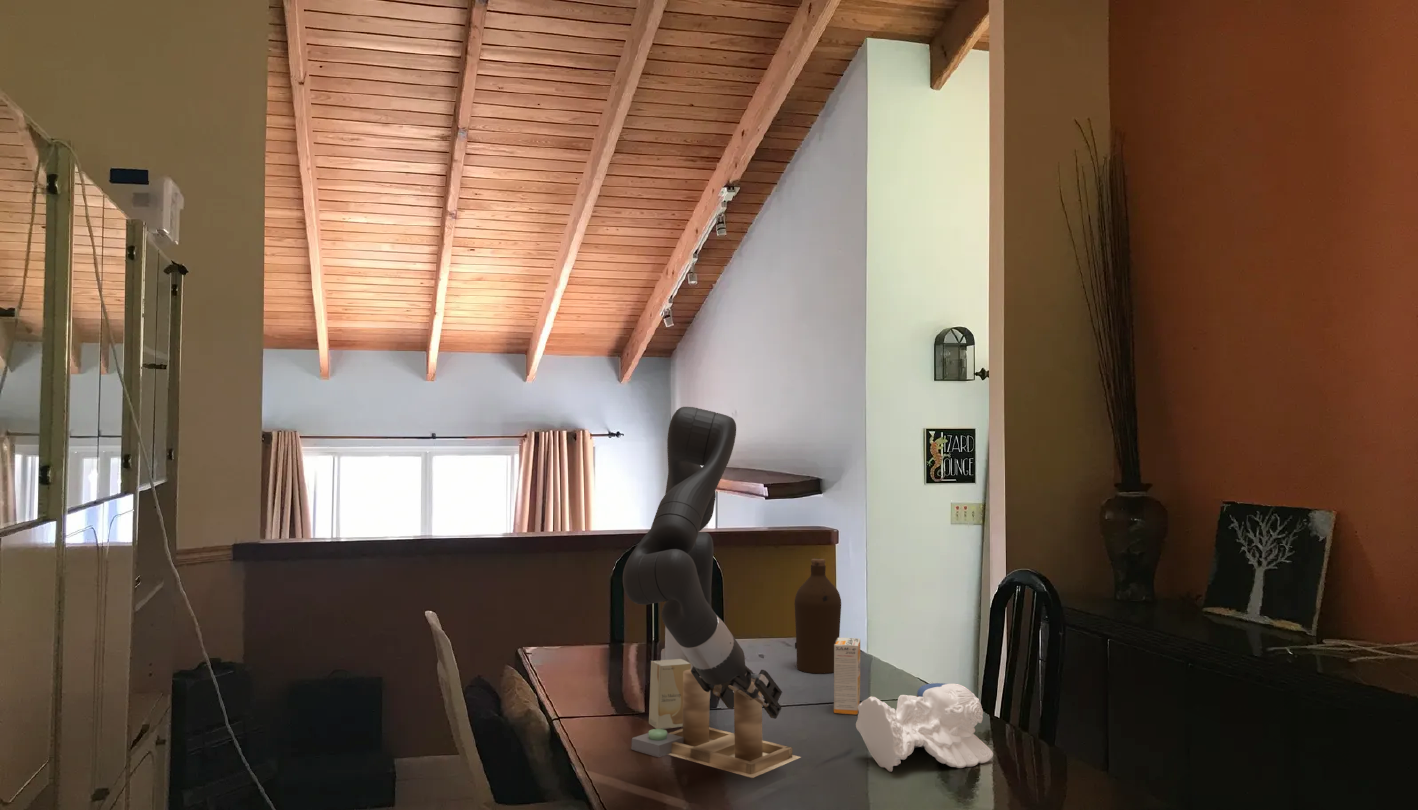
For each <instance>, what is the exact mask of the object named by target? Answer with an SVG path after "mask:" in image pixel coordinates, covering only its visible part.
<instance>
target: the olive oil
mask: <svg viewBox="0 0 1418 810" xmlns="http://www.w3.org/2000/svg"><path fill="white" fill-rule="evenodd" d="M810 562H811V564H810V576H809V577H808V578H807V579H806V580H805V581H804V583H803V584H801V586H799V588H798V589H797V591H796V595H795V597H794V619H795V620H794V621H795V643H794V648H795V649H794V650H796V669H797V670H799V671H800V672H804V673H808V674H821V675H822V674H823V675H824V674H832V673H833V674H834V645H835V642H836V640H837V638H840V633H841V631H840V630H841V629H840V628H841V617H842V616H841V614H842V613H841V612H842V599H841V595H840V592H839V590H838V589H837V588H836V586H835V585H834V584H833V583H832V582H831V581H830V580H829V579H828V577H827V575H826V566H827V565H826V559H825V558H811V561H810Z"/></svg>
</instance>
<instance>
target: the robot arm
mask: <svg viewBox="0 0 1418 810" xmlns="http://www.w3.org/2000/svg"><path fill="white" fill-rule="evenodd" d="M736 437H737V424H736V421H735V419H734V418H733V417H731V416H729V415H728V414H727V415H726V414H723V413H719V412H715V411H711V410H709V409H708V410H707V409H703V408H698V407H695V406H681V407H679V408H678V409H677V410H676V411H675V412H674V414H673V415H672V418H671V420H670V422H669V426H668V431H667V440H666V441H667V442H666V443H667V445H666V446H667V450H666V451H667V479H666V480H667V481H666V486H665V495H664V496H663V498H662V499H661V500H660V502H659V505H658V507H657V510H656V512H655V516H654V518H653V522H652V524H651V527H650V529H649V531H647V533H646V534H645V535H644V536H643V538H641V540H640V541H639V542H638V544H637V545H636V546H635V548H634V549H633V551H632V552H631V553H630V555H629V557H628V558H627V560H626V563H625V565H624V568H623V572H622V587H623V590H624V593H625V595H626V596H627V598H628V599H629V601H631V602H633V603H634V604H636V605H653V604H657V603H663V602H664V604H663V606H662V608H661V619H662V623H663V625H664V626H665V628H664V633H665V634H664V635H665V636H664V641H665V642H664V648H662V649H661V652H660V660H673V659H683V660H685V661H687V662H689V663H691V673H692V674H693V676H694V677H695V679H696V680H697V682H698V683H699V684H700V686H701V687H702V689H703V690H704V691H706V692H709V691H710V692H711V691H712V694H713V695H714V696H716V697H718V698H719V699H721V701H722V703H723V704H724V705H725V706H726V708H727V709H729V710H734V691H735V692H739V693H740V694H742V695H743V696H745V697H746V698H748V699H749V700H753V699H754V700H756V701H757V702H759V703H760V704H762V708H763V709H764V710H765V711H766V713H767V714H768V716H769V717H770V718H771V719H774V720H776V719H777V718H778V716H779V714H780V712H781V710H782V707H781V705H780V703H779V700H780V698H781V695H783V694H782V693H783V691H782V689H781V688H780V687H779V685H778V684H777V683H776V682H775V680H774V679H773V677H772V676H771V675H770V674H769V672H768V671H766V670H765V669H761V670H760V671H759V673H754V672H753V671H752V670H751V669H750V667H748V666H747V665H746V658H745V653H744V650H743V648H742V647H741V645H740V644H739V643H738V641H737V639H736V638H735V637H734V635H733V634H732V632H731V631H730V630H729V628H728V627H727V625H726V624H725V623H724V621H723V620H722V619H721V618H720V617H719V616H718V615H717V614H716V611H714V609H713V608H712V584H713V580H712V579H713V565H714V540H713V538H712V536H711V534H710V533H709V532H705V531H702V530H703V529H705V527H707V525H708V524H709V523H710V521H711V519H712V518H713V515H714V510H715V503H716V499H717V494H716V492H717V491H716V490H717V488H718V485H719V484H720V482H721V479H722V477H723V474H724V473H725V470H726V468H727V466H728V464H729V462H730V459H731V457H732V454H733V450H734V446H735V441H736ZM751 682H754V685H755V686H754V688H753V690H752V692H751V693H750V692H748V691H747V690H748V688H749V686H750V684H751ZM759 691H760V693H761V694H762V697H760V696H759V695H758V692H759Z"/></svg>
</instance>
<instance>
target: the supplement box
mask: <svg viewBox="0 0 1418 810" xmlns="http://www.w3.org/2000/svg"><path fill="white" fill-rule="evenodd" d="M860 697H861V638H858V637H839V638H837V640H836V642H835V645H834V672H833V713H834V714H840V715H841V714H842V715H854V716H855V715H856V716H858V714H859V711H858V705H859V704H860V701H861V700H860V699H861V698H860Z"/></svg>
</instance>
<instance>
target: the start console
mask: <svg viewBox="0 0 1418 810" xmlns="http://www.w3.org/2000/svg"><path fill="white" fill-rule="evenodd" d="M669 733H670V732H668V731H667V730H666V729H656V728H652V729H650V730H648V732H647V733H643V734H641V735H637V736H634V737H632V738H631V750H632V751H634V752H637V753H642V754H644V755H645V754H646V755H649V756H652V757H656V758H660V757H664V756H667V754H669V753H671V748H672V743H674V742H678V743H682V744H684V737H681V736H677V735H673V734H669Z"/></svg>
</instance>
